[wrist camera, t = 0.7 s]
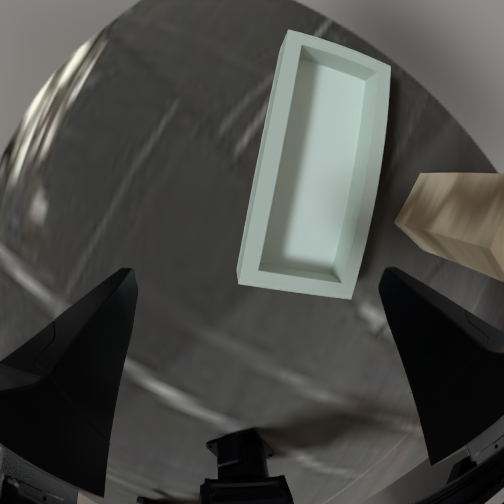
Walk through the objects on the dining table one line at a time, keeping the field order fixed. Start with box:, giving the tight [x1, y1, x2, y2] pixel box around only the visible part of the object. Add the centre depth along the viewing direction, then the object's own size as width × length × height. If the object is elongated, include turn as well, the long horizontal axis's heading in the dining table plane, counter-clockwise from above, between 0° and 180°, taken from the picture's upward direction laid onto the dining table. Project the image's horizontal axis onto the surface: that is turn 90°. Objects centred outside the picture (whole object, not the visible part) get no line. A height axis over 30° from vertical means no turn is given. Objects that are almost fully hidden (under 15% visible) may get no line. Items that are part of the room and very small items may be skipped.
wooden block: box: [394, 173, 504, 282], centre depth 18 cm, size 6×5×12 cm
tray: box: [237, 30, 391, 299], centre depth 20 cm, size 20×9×4 cm, turn 169°
